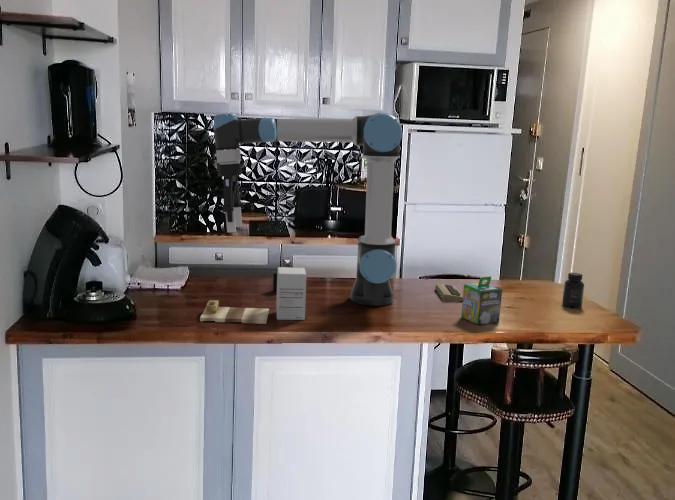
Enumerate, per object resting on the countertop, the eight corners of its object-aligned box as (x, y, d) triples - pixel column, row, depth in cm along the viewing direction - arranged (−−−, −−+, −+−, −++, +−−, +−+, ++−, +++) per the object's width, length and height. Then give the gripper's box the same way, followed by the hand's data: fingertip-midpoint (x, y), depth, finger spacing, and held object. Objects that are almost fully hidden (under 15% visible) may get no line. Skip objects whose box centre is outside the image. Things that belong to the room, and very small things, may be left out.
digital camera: (284, 294, 232) (285, 275, 231) (272, 292, 235) (273, 273, 234) (301, 289, 241) (302, 270, 240) (289, 286, 244) (290, 268, 242)
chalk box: (481, 314, 220) (485, 271, 217) (500, 322, 212) (504, 278, 209) (459, 317, 215) (463, 273, 212) (477, 325, 207) (481, 280, 204)
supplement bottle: (584, 306, 236) (588, 274, 234) (577, 310, 231) (581, 277, 229) (566, 302, 240) (570, 270, 238) (558, 305, 236) (562, 273, 233)
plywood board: (268, 312, 210) (269, 300, 210) (266, 323, 199) (266, 311, 198) (206, 309, 209) (206, 298, 209) (200, 321, 198) (200, 309, 197)
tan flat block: (465, 303, 234) (466, 294, 234) (442, 302, 234) (443, 293, 233) (455, 291, 250) (456, 283, 249) (434, 291, 249) (435, 282, 249)
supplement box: (275, 311, 212) (277, 266, 209) (303, 311, 213) (305, 267, 210) (276, 320, 203) (277, 273, 200) (305, 320, 204) (306, 273, 201)
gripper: (223, 163, 219) (229, 225, 223) (209, 165, 195) (216, 235, 198) (246, 161, 219) (251, 224, 223) (234, 163, 195) (241, 233, 198)
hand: (235, 229), depth 210 cm, fingers open, 13 cm apart
